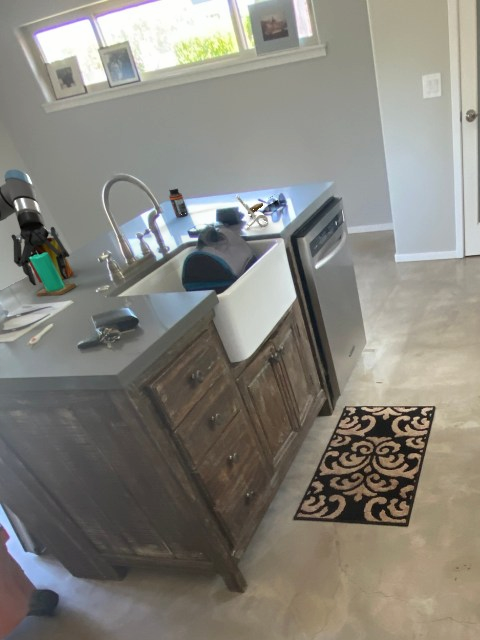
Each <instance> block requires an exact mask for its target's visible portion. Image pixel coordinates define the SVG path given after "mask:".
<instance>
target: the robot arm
mask: <svg viewBox="0 0 480 640" xmlns="http://www.w3.org/2000/svg"><path fill="white" fill-rule="evenodd" d="M4 181H5V183H3V184H2V185H1V186H0V222H1V221H5V220H6V219H7V218H8V217H10V216H12V215H13V214H15V216H16V220H17V223H18V226H19V230H20V233H19V234H17V235H15V234H11V236H10V237H11V239H12V242H13V263H14V264H15V265H16V266H17V267H19V268H20V267H22V271H23V274H24V275H26V276H27V277H28V280H29V282H30V283H31V284H32V285H33V286H37V282H36V279H35V276H34V271H33V269H32V267H31V265H30V263H29V260H30V258H29V257H30V256H31V254H32V249H34V246H37V245H42V244H44V243H45V244H46V245H47V246H48V247H49V248H50V249H51V250H52V251H53V252H54V253H55V254H56V255H57V256H56V260H57V263H58V267H59V270H60V273H61V275H62V276H63V278H64V279H63V280H66V279H68V278H67V277H66V273H65V270H64V268H66V263H65V257H66V258H69V257H70V253H69V252H68V250H67V248H66V247H65V246H64V243H63V242H62V241H61V238H60V237H59V231H57V229H56V228H55V227H54V226H51V227H50V228H47V227H46V224H45V220H44V218H43V215H42V211H41V208H40V204H39V202H38V201H39V200H38V198H37V194H36V191H35V186H34V184H33V182H32V179H31V177H30V176H29V174H27V172H25V171H23V170H20V169H16V168H15V169H9V170H7V171H5V174H4ZM49 235H50V236H51V237H54V239H55V240H56V242H57V244H58V245H59V247H60V249H61V250H62V252H61V253H60V252H59V251H58V250H57V249H56V248H55V247H54V246H53V245H52V244H51V243H50V242H49V241H48V240H47V238H49ZM23 240H24V242H23ZM22 243H24V245H23V248H22Z"/></svg>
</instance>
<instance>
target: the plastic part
mask: <svg viewBox="0 0 480 640" xmlns="http://www.w3.org/2000/svg"><path fill="white" fill-rule="evenodd" d="M235 198H236V199H237V200H238V202H239V203H240V204H241V205H242V206H243V207H244V208H245V210H246V211H247V213H248V212H249V213H250V214H251V215H252V217H251V218H252V220H251V221H249V222H248V223H245V227H244V230H246V231H248V230H249V229H250V228H251V227H252V226H253V225H254V224H255V223H257V224H258V225H259V226H261V227H263V228H264V227H267V226H268V225H269V219H268V217H267V216H266V215H265V214H264V212H260V211H257V212H255V213H253V212H252V211H251V210H250V207H249V206H248V205H246V203H244V201H243V200H242V198H240V195H238V194H236V195H235ZM260 219H262V220H260ZM263 220H264V221H266V222H268V223H266V222H264V221H263ZM259 222H260V223H259ZM247 225H248V226H249V227H248V226H247Z"/></svg>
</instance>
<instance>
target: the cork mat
mask: <svg viewBox="0 0 480 640" xmlns="http://www.w3.org/2000/svg"><path fill="white" fill-rule="evenodd" d="M64 285H65V286H64V287H63V288H61V289H58V290H54V291H47V290H46V288H45V287H44V288H43V289H40V290H39V291H37V292H36V296H37V297H43V296H62V295H65V294H66V293H67V292H69V291H71V290H73V289H74V288H76V287H77V284H76V283H75V282H73V283H72V282H71V283H64Z"/></svg>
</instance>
